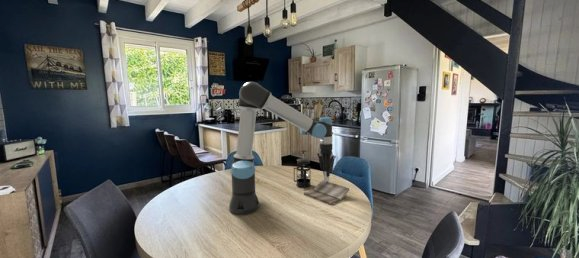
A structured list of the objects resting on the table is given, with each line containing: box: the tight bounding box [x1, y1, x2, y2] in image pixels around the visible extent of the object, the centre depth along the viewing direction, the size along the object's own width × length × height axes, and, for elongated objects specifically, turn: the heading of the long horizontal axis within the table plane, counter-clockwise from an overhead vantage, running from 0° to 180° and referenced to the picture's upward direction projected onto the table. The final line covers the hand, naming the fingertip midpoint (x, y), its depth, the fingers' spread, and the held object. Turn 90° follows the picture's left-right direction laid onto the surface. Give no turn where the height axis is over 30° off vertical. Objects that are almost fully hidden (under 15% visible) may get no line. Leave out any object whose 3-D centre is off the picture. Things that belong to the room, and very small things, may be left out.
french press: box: [293, 149, 312, 189], centre depth 157 cm, size 12×9×23 cm
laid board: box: [303, 188, 341, 206], centre depth 137 cm, size 20×8×2 cm, turn 40°
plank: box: [313, 179, 350, 202], centre depth 142 cm, size 20×9×1 cm, turn 40°
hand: (326, 181), depth 148 cm, fingers closed
